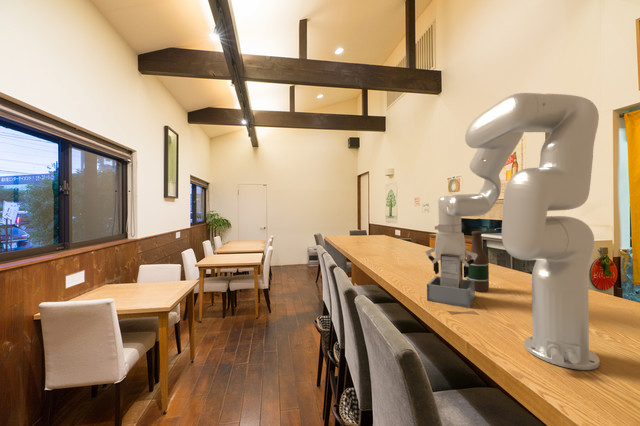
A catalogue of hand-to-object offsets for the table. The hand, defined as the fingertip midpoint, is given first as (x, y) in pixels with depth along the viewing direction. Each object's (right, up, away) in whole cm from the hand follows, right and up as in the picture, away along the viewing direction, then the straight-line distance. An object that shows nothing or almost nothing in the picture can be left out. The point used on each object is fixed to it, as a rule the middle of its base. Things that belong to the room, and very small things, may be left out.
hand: (450, 275), depth 97 cm
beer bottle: (+16, -9, +10) cm, 20 cm away
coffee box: (0, -8, 0) cm, 8 cm away
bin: (0, -9, 0) cm, 9 cm away
